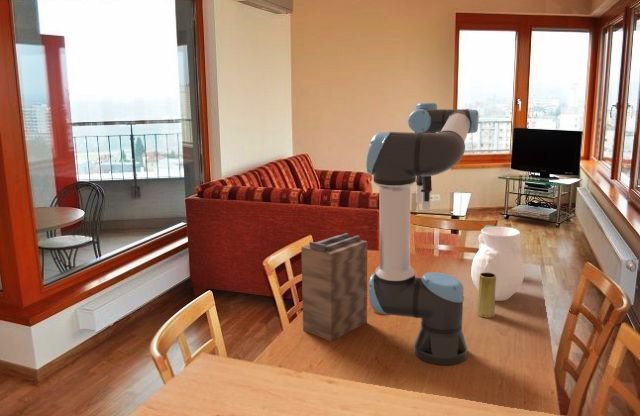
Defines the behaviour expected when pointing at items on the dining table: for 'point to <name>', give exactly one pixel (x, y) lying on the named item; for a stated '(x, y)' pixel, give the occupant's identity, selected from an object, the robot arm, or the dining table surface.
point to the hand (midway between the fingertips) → (422, 206)
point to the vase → (486, 295)
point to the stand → (334, 286)
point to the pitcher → (499, 260)
